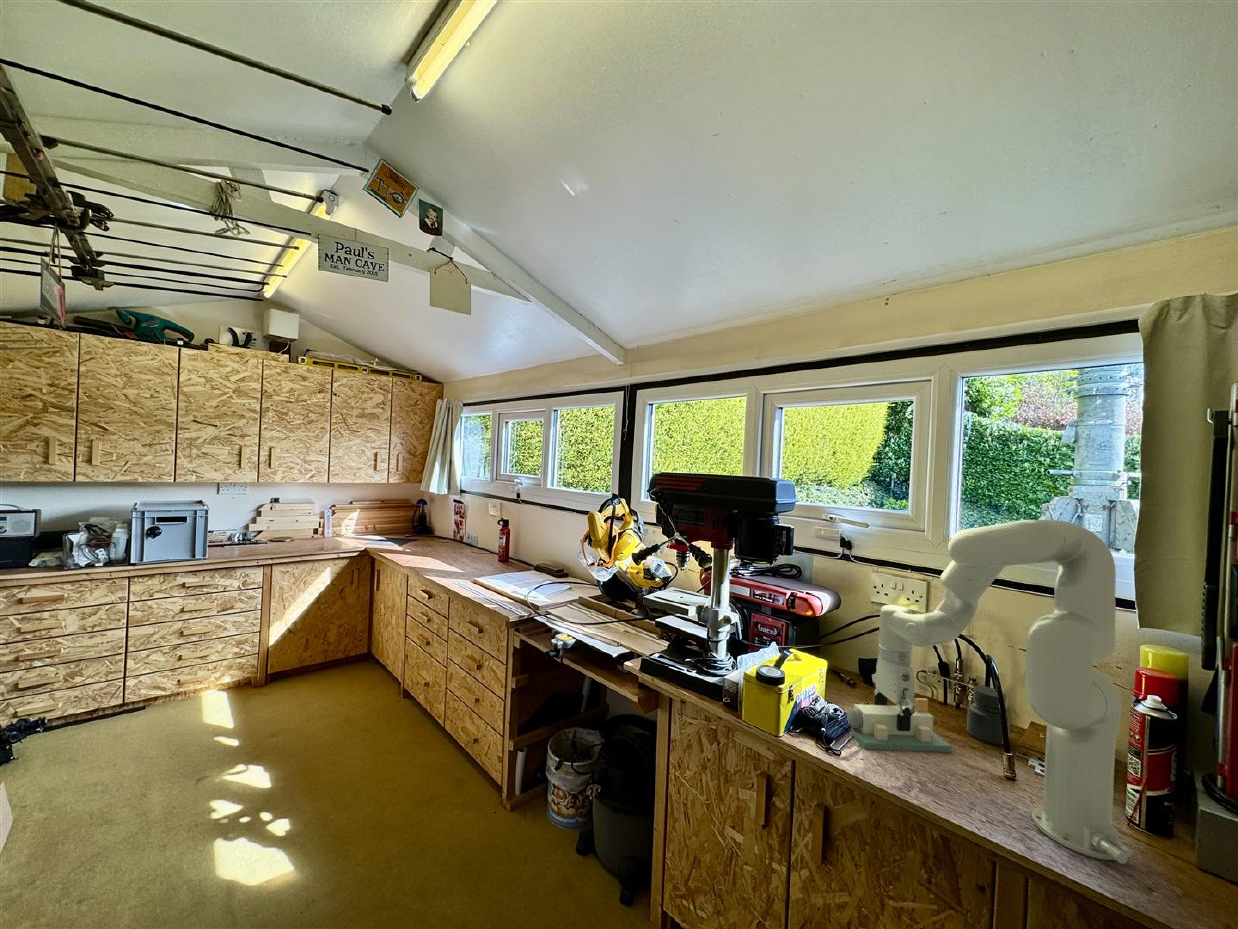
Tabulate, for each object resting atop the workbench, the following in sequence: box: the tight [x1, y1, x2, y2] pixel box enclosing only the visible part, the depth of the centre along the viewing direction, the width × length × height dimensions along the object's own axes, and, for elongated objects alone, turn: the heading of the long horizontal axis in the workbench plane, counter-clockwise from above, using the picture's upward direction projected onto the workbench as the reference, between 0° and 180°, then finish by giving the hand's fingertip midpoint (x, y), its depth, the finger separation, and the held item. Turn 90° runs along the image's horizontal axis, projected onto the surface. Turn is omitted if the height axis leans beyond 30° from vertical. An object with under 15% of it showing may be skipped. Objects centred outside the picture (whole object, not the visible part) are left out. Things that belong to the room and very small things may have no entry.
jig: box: [851, 724, 952, 753], centre depth 125 cm, size 14×22×4 cm, turn 93°
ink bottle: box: [966, 685, 1011, 746], centre depth 128 cm, size 10×9×12 cm
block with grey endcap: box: [846, 697, 934, 736], centre depth 125 cm, size 5×20×8 cm, turn 92°
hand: (891, 720), depth 125 cm, fingers open, 9 cm apart
